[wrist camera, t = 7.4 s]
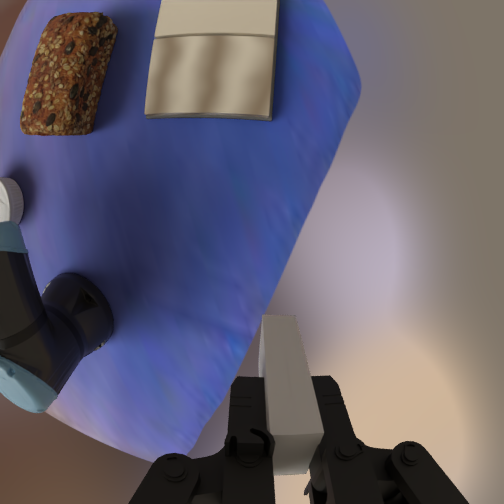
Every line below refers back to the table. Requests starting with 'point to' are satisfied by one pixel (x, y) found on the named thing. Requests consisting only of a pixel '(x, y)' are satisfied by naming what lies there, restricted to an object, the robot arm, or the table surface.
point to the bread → (68, 75)
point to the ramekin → (10, 201)
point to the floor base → (220, 29)
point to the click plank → (210, 76)
